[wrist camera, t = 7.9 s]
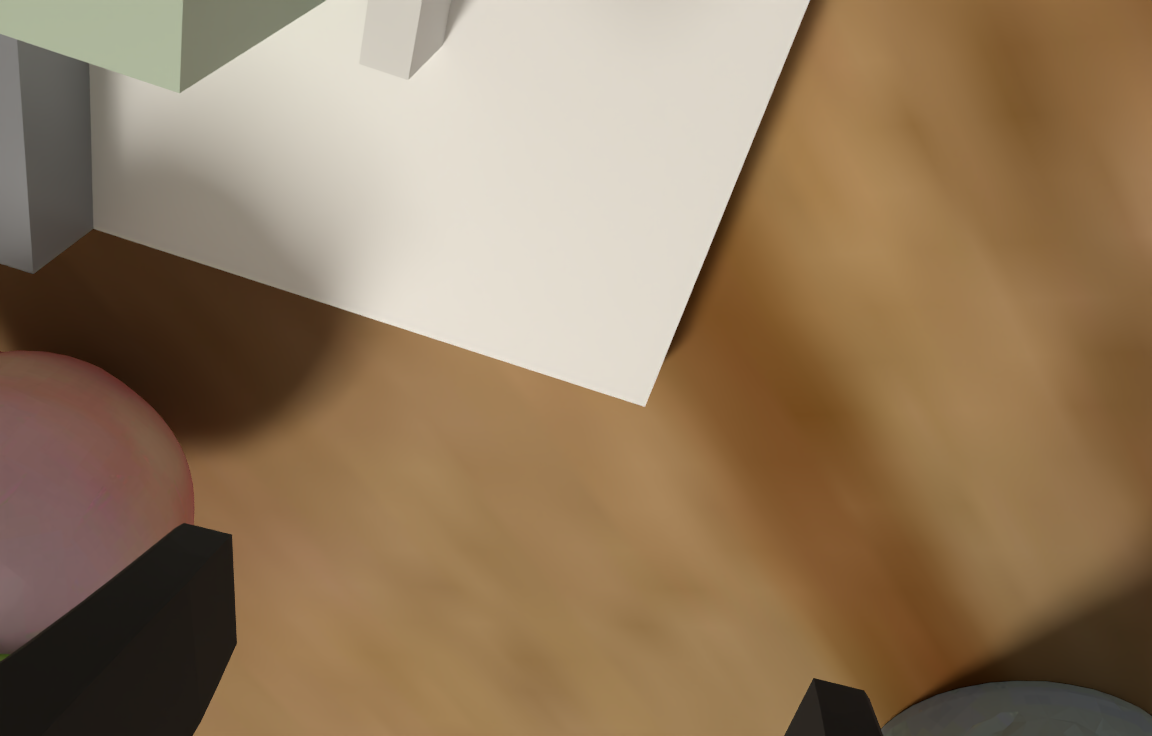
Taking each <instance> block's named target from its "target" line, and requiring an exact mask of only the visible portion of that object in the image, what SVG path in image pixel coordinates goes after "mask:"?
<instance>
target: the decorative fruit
mask: <svg viewBox="0 0 1152 736" xmlns="http://www.w3.org/2000/svg"><path fill="white" fill-rule="evenodd" d="M183 523H186V524H190V525H194V492H193V483H192V478H191V474H190V470H189V466H188V463H187V460H186V457H185V455H184V453H183V450H182V448H181V446H180V444H179V442H178V441H177V439H176V437H175V436H174V434H173V432H172V431H171V429H170V428H169V426H168V425H167V424H166V422H165V421H164V420H163V419H162V417H161V416H160V415H159V414H158V413H157V412H156V411H155V410H154V409H153V407H152V406H150V405H149V404H148V403H147V402H146V401H145V400H144V399H143V398H142V397H140V396H139V395H138V394H137V393H135V392H134V391H133V390H132V389H130V388H129V387H128V386H127V385H125V384H124V383H123V382H122V381H120V380H119V379H117V378H115V377H114V376H112V375H111V374H109V373H108V372H106V371H105V370H103V369H101V368H99V367H97V366H95V365H93V364H90V363H88V362H85V361H82V360H79V359H76V358H73V357H70V356H66V355H61V354H56V353H50V352H45V351H20V350H18V351H10V352H1V351H0V661H2V660H3V659H5V658H6V657H7V656H9V655H10V654H12V653H13V652H14V651H16V650H17V649H19V648H20V647H21V646H23V645H24V644H25V643H27V642H28V641H29V640H31V639H32V638H34V637H35V636H36V635H38V634H39V633H40V632H42V631H43V630H44V629H46V628H47V627H48V626H50V625H51V624H52V623H54V622H55V621H56V620H58V619H59V618H61V617H62V616H63V615H65V614H66V613H67V612H69V611H70V610H71V609H73V608H74V607H75V606H77V605H78V604H79V603H81V602H82V601H83V600H85V599H86V598H87V597H88V596H90V595H91V594H92V593H94V592H95V591H96V590H97V589H99V588H100V587H101V586H103V585H104V584H105V583H106V582H108V581H109V580H110V579H112V578H113V577H114V576H115V575H117V574H118V573H119V572H120V571H122V570H123V569H124V568H126V567H127V566H128V565H129V564H131V563H132V562H133V561H134V560H136V559H137V558H138V557H139V556H141V555H142V554H143V553H144V552H146V551H147V550H148V549H149V548H151V547H152V546H153V545H154V544H156V543H157V542H158V541H159V540H161V539H162V538H163V537H164V536H166V535H167V534H168V533H169V532H171V531H172V530H173V529H174V528H176V527H177V526H179V525H181V524H183Z"/></svg>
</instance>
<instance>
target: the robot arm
mask: <svg viewBox="0 0 1152 736" xmlns="http://www.w3.org/2000/svg"><path fill="white" fill-rule="evenodd" d="M236 644H237V637H236V615H235V593H234V571H233V549H232V535H231V534H227V533H223V532H219V531H215V530H211V529H207V528H203V527H199V526H194V525H190V524H186V523H183V524H181V525H179V526H177V527H176V528H174V529H173V530H172V531H171V532H169V533H168V534H167V535H166V536H164V537H163V538H162V539H161V540H159V541H158V542H157V543H156V544H154V545H153V546H152V547H151V548H149V549H148V550H147V551H146V552H144V553H143V554H142V555H141V556H139V557H138V558H137V559H136V560H134V561H133V562H132V563H131V564H129V565H128V566H127V567H126V568H124V569H123V570H122V571H120V572H119V573H118V574H117V575H115V576H114V577H113V578H112V579H110V580H109V581H108V582H106V583H105V584H104V585H103V586H101V587H100V588H99V589H97V590H96V591H95V592H94V593H92V594H91V595H90V596H88V597H87V598H86V599H85V600H83V601H82V602H81V603H79V604H78V605H77V606H75V607H74V608H73V609H71V610H70V611H69V612H67V613H66V614H65V615H63V616H62V617H61V618H59V619H58V620H56V621H55V622H54V623H52V624H51V625H50V626H48V627H47V628H46V629H44V630H43V631H42V632H40V633H39V634H38V635H36V636H35V637H34V638H32V639H31V640H29V641H28V642H27V643H25V644H24V645H23V646H21V647H20V648H19V649H17V650H16V651H14V652H13V653H12V654H10V655H9V656H7V657H6V658H5V659H3V660H2V661H0V736H193V734H194V732H195V730H196V729H197V727H198V725H199V724H200V722H201V720H202V718H203V716H204V714H205V712H206V709H207V707H208V705H209V703H210V701H211V699H212V697H213V695H214V693H215V690H216V688H217V686H218V684H219V682H220V680H221V677H222V675H223V673H224V671H225V668H226V666H227V664H228V662H229V659H230V657H231V655H232V653H233V650H234V648H235V646H236ZM784 736H883V734H882V731H881V728H880V726H879V723H878V721H877V718H876V715H875V713H874V710H873V707H872V705H871V702H870V699H869V698H868V696H867V695H866V693H865V691H864V690H860V689H856V688H852V687H848V686H843V685H839V684H835V683H831V682H827V681H823V680H819V679H815V678H813V680H812V682H811V684H810V686H809V688H808V690H807V692H806V694H805V696H804V698H803V700H802V702H801V704H800V706H799V708H798V710H797V712H796V714H795V716H794V718H793V720H792V722H791V724H790V726H789V728H788V729H787V731H786V733H785V735H784Z"/></svg>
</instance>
